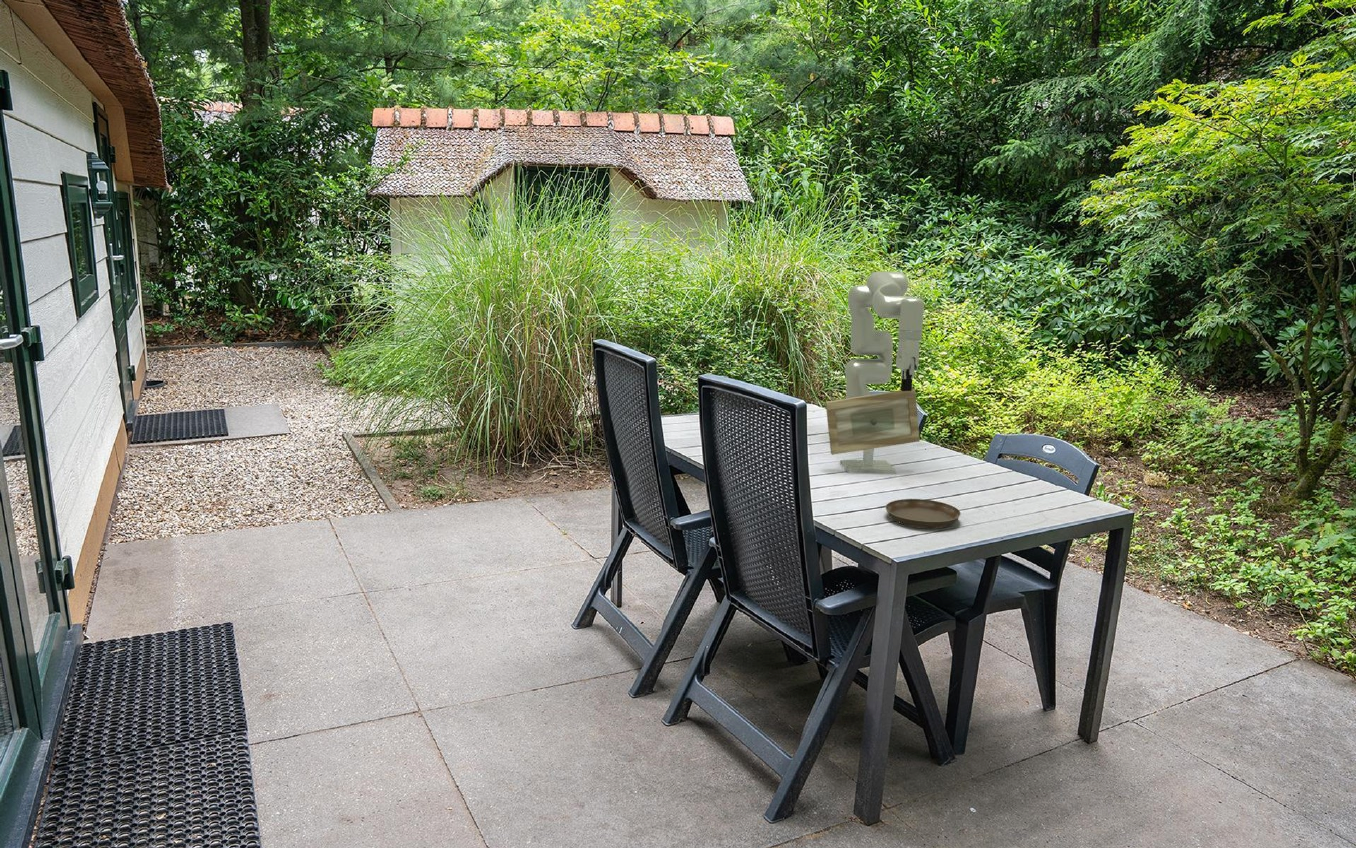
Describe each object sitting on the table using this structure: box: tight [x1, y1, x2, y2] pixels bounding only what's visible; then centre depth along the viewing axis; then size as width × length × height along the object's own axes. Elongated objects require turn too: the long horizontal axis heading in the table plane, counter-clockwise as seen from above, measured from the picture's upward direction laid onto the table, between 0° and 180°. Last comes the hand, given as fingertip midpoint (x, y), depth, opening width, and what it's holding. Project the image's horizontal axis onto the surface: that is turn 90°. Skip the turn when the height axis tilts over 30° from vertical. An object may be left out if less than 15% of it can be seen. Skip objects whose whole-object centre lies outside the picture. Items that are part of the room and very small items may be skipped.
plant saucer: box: [885, 498, 962, 530], centre depth 265 cm, size 21×21×3 cm
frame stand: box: [839, 448, 897, 475], centre depth 317 cm, size 12×16×18 cm
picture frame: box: [825, 387, 921, 455], centre depth 313 cm, size 3×30×18 cm, turn 94°
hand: (906, 390), depth 311 cm, fingers closed
